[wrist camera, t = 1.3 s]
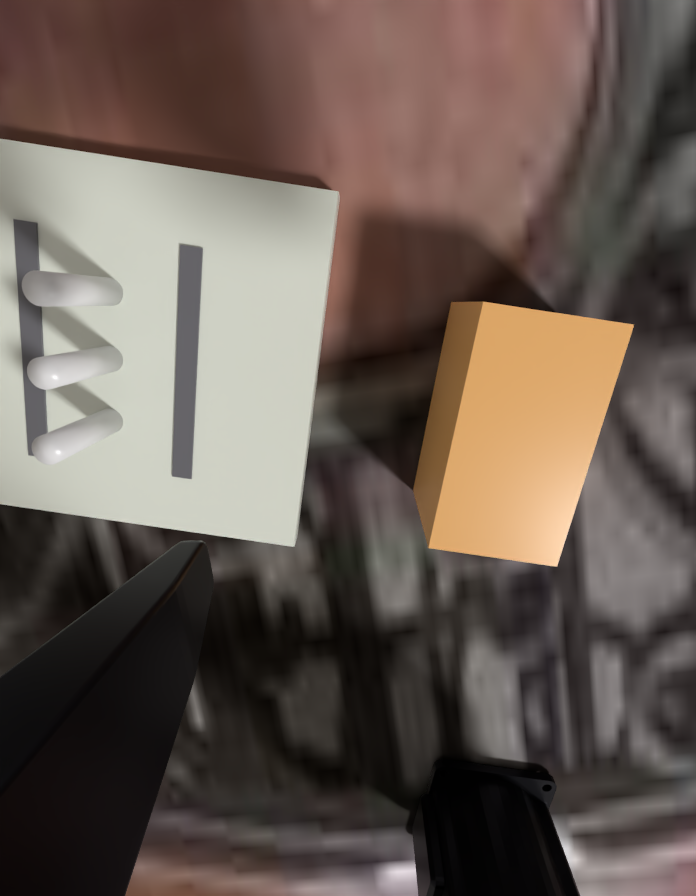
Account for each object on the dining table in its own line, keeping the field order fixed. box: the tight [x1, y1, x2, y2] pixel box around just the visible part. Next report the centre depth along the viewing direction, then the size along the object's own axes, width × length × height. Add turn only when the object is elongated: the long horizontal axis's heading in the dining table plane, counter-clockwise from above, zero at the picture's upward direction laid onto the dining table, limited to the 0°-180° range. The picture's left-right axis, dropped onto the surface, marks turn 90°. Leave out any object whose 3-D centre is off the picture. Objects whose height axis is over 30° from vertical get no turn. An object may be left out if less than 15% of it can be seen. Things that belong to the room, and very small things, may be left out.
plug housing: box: [413, 302, 634, 567], centre depth 17 cm, size 8×4×5 cm, turn 172°
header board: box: [0, 139, 340, 547], centre depth 17 cm, size 16×14×5 cm
